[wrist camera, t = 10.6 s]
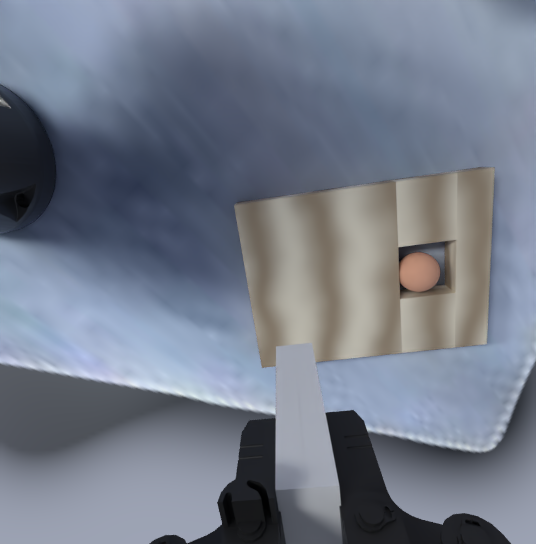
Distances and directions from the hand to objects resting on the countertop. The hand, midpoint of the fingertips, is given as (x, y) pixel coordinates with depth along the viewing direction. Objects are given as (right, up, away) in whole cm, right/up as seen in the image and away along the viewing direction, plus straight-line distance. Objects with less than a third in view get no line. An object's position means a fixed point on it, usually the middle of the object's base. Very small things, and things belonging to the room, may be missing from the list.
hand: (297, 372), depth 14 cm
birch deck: (+9, +4, +22) cm, 24 cm away
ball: (+12, +4, +21) cm, 25 cm away
